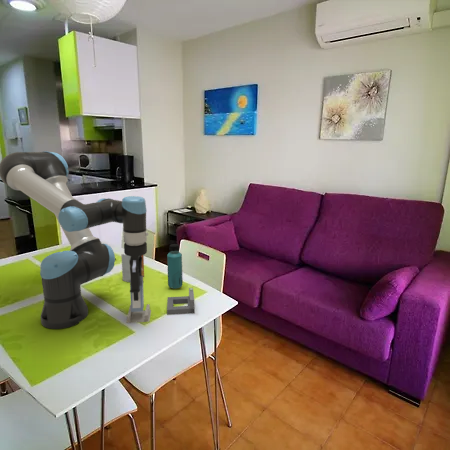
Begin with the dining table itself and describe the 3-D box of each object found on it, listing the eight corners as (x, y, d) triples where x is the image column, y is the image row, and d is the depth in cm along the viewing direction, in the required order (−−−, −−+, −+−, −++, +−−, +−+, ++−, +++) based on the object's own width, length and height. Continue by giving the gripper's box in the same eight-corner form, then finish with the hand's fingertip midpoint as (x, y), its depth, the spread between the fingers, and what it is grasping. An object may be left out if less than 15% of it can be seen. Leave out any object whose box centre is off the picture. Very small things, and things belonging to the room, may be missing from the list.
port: (167, 316, 118) (166, 299, 116) (167, 302, 127) (167, 287, 126) (194, 314, 119) (194, 298, 118) (192, 301, 129) (192, 286, 127)
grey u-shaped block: (126, 324, 112) (125, 316, 111) (129, 312, 119) (128, 305, 119) (149, 322, 113) (149, 315, 112) (151, 311, 121) (150, 304, 120)
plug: (131, 311, 113) (129, 280, 110) (132, 306, 117) (131, 275, 114) (142, 311, 114) (141, 280, 111) (143, 305, 118) (143, 275, 115)
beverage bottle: (180, 292, 136) (179, 247, 131) (165, 290, 138) (164, 246, 133) (184, 286, 143) (184, 243, 138) (170, 284, 144) (169, 241, 139)
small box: (133, 283, 144) (132, 256, 141) (122, 280, 146) (120, 253, 143) (144, 276, 151) (143, 250, 148) (133, 274, 154) (132, 248, 150)
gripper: (144, 250, 101) (146, 316, 107) (148, 234, 118) (149, 292, 124) (119, 250, 100) (122, 317, 106) (127, 235, 117) (129, 293, 123)
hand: (137, 304), depth 115 cm, fingers closed on plug, 4 cm apart
